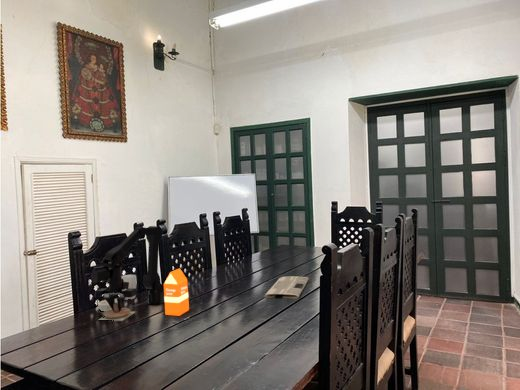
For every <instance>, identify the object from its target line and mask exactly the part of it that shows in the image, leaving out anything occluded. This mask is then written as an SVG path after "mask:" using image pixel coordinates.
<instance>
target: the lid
mask: <svg viewBox="0 0 520 390" xmlns="http://www.w3.org/2000/svg"><path fill="white" fill-rule="evenodd" d="M113 305H114V311H113V310H112V309H111V310H108V311H106V312H103V317H104V316H105V317H108V318H114V317H121V316H124V315H127V314H129V313H130V311H131V309H130V308H129V307H122V309H121V311H119V309H118V303H117V302H116V303H114V304H113Z"/></svg>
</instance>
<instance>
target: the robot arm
mask: <svg viewBox="0 0 520 390" xmlns="http://www.w3.org/2000/svg"><path fill="white" fill-rule="evenodd" d="M163 233H164V232H163V228H162V227H161V226H157V225H156V226H155V225H150V226H148V227H144V226H136V227H135V228H134V229H133V231H131V233H130V234H129V235H127V237H126V238H125V239H124V240H122V242H121V243H120V244H119V245H116V246H114V247H113V248H112V249H110V250H108V251H107V252H106V253H105V255H104V259H103V260H102V262H101V264H100V266H95V267H93V268H92V271H91V274H90V279H91V281H92V282H93V283H94V284H96V283H100V282H101V283H102V282H104V281H106V283H107V285H108V288H102V287H101V288H100V289H97V290H95V292H94V297H95V298H102V296H103V300H106V301H107V302H108V304H109V305H110V307H111V308H112V310H113V311H114V305H113V304H114V303H115V299H117V303H118V309H119V311H121V309H122V308H123V305H124V302H125V301H126V300H125V298H126V297H127V298H130V297H133V296H135V297H136V296H137V295H138V290H137V288H136V289H135V288H129V289H128V287H129V282H124V280H123V279H122V276H123V275H122V268H124V267H126V264H124V263H123V262H122V261H123V260H124V259H125V257H126V254H127V252H128V251H129V250H130V248H132V247H133V246H134V245H135V244H136V242H138V241H139V239H141V238H142V236H146V237H145V238H146V240H147V243H148V254H147V255H148V256H147V258H148V261H147V272H146V274H143V275H142V276H143V277H142V284H143V287H144V288H145V290H146V292H148V294H147V299H148V303H147V305H149V306H161V305H162V304H163V303H165V300H164V284H163V283H162V281H161V276H160V275H159V270H158V267H159V250H160V249H159V247H160V243H161V240H162V239H163V238H162V237H163ZM124 289H127V290H125V291H122V290H124ZM116 295H117V296H118V297H117V298H116Z"/></svg>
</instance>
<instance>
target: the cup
mask: <svg viewBox="0 0 520 390" xmlns="http://www.w3.org/2000/svg"><path fill="white" fill-rule="evenodd" d="M121 276H122V279H123V280H124V282H129V287H128V289H129V288H135V289H136V290H137V275H136V274H125V275H121ZM125 290H127V289H124V290H122V291H125ZM135 298H136V295H135V296H133V297H130V298H127V297H126V298H125V300H124V301H129V300H128V299H131V300H134V299H135Z"/></svg>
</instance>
